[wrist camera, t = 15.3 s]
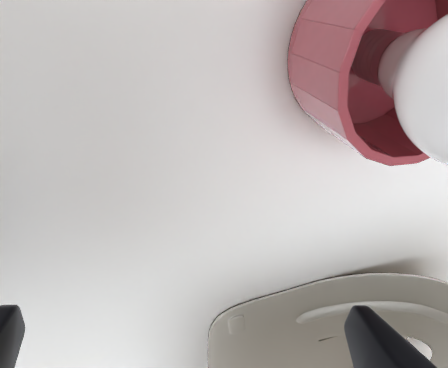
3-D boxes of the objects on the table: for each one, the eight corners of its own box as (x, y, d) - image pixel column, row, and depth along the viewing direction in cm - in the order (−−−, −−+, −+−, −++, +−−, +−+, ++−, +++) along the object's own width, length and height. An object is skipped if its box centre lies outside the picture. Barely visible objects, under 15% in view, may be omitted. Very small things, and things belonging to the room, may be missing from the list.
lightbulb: (412, -32, 18) (719, -49, 9) (418, 80, 21) (641, 153, 12) (303, 20, 18) (496, 58, 9) (326, 124, 21) (482, 231, 12)
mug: (348, 155, 24) (403, 196, 19) (252, 61, 19) (294, 87, 14) (501, -1, 21) (609, 3, 16) (433, -158, 16) (560, -216, 11)
